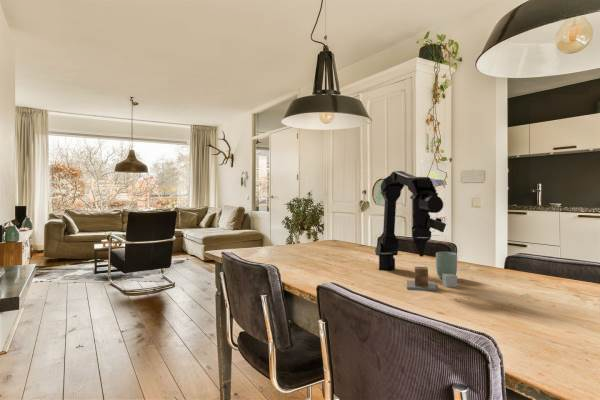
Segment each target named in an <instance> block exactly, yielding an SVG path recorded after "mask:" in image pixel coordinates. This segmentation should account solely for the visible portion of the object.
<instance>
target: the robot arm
mask: <svg viewBox="0 0 600 400" xmlns="http://www.w3.org/2000/svg"><path fill="white" fill-rule="evenodd" d="M405 186H406V187H407V190H408V191H409V192H411V193H412V194H411V196H410V197H409V198H410V199H411V201H412V202H411V203H412V210H411V211H412V212H411V213H412V217H411V218H412V227H411V236H412V241H413V243H414V245H415V247H416V250H417V252H418V255H419V257H422V258H423V257H424V253H425V249H426V244H427V242H429V241H430V240H431V239H432V231H431V229H434V230H437V231H439V232H440V233H444V232H445V229H446V226H447V223H445V222H443V221H442V218H440V217H436V218H435V219H434V218H431V215H430V213H431V214H432V213H434V214H437V213H439V212H441V211H442V210H443V208H444V201H443V199H442V198H441V197H440V196H439V193H438V192H437V189H436V187H435V186H434V183H433V181H432V179H431V177H429V176H415V175H413V174H409V173H407V172H406V171H403V170H398V171H397V170H394V171H392V172H391V173H390V174H389V175H388V176H386V177H385V178H384V179H383V180H382V182H381V184H380V191H381V192H380V194H381V196H382V197H383V199H384V207H383V208H384V212H383V213H384V214H383V230H382V234H381V235H380V236H379V237H378V242H377V245H376V247H375V251H374V252H375V255H376V256H378V270H380V271H381V270H382V271H395V268H396V258H395V256H398V254H399V248H400V247H399V238H397V236H396V234H395V229H396V227H395V226H396V215H397V214H396V213H397V212H396V211H397V201H398V200H399V199H400V197H401V194H402V190H403V189H404V188H405Z"/></svg>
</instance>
